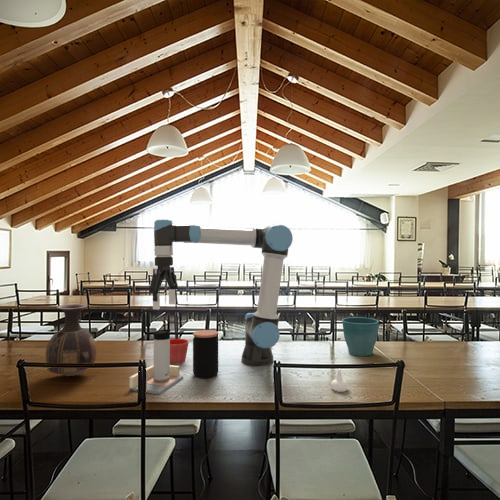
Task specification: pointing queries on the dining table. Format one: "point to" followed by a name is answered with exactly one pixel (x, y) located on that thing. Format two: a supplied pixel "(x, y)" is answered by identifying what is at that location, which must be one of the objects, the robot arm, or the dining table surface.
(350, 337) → the flower pot
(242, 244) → the robot arm
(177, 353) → the flower pot
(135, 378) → the tray
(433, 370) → the dining table surface
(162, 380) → the travel mug
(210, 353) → the coffee jar
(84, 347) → the vase
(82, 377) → the dining table surface
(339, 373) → the garlic bulb
